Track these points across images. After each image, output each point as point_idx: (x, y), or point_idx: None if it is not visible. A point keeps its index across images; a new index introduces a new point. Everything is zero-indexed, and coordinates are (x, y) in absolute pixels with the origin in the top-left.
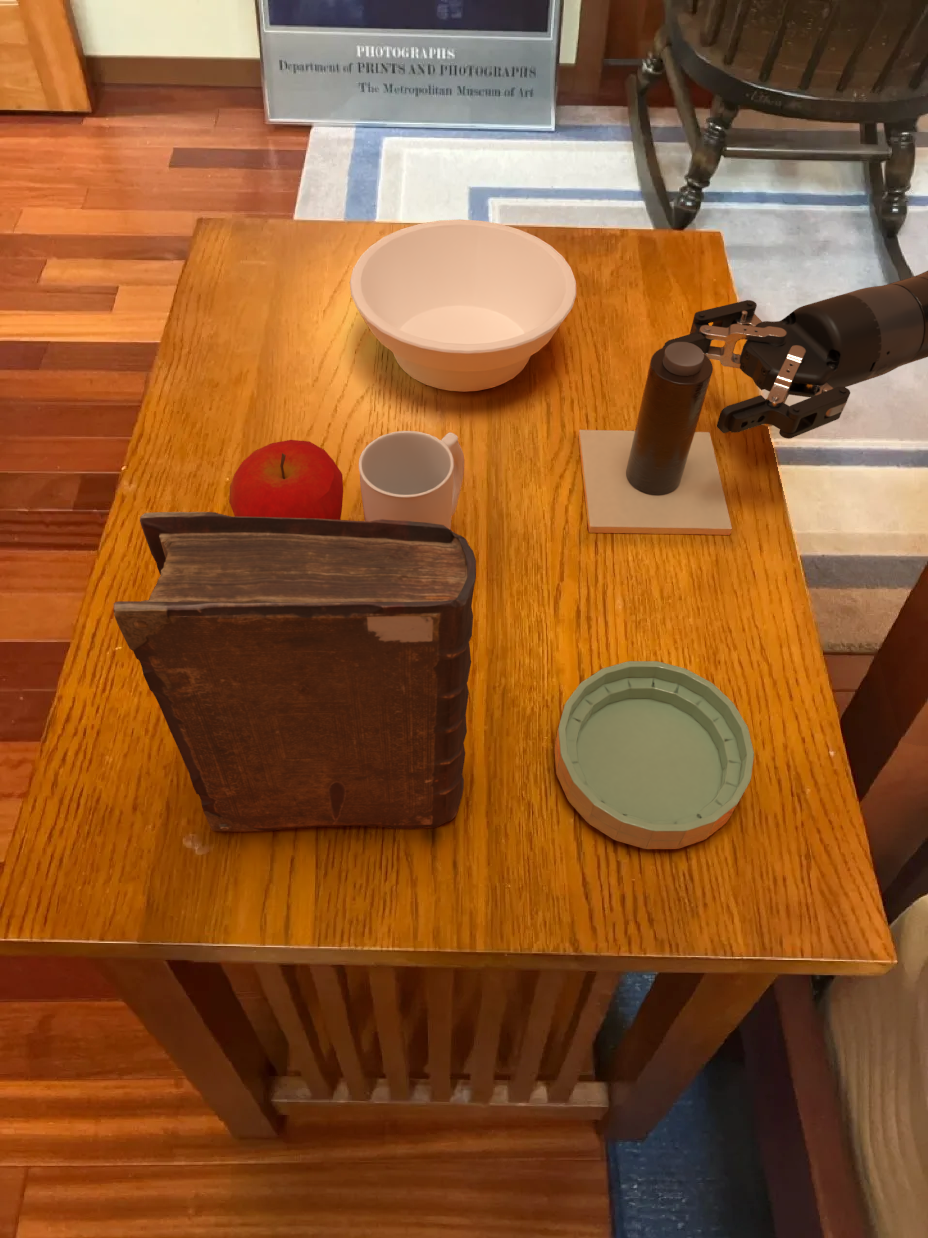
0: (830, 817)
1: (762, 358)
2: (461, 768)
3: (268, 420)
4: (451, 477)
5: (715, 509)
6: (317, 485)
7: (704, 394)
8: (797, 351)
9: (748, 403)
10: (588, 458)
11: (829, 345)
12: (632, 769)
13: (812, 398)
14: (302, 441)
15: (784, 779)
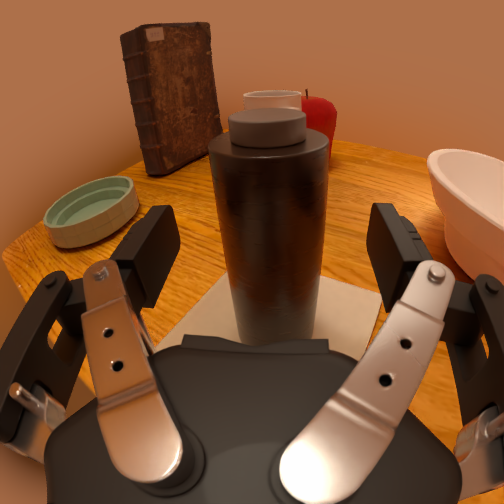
0: (17, 266)
1: (244, 354)
2: (142, 145)
3: (417, 175)
4: (251, 101)
5: None
6: None
7: (215, 190)
8: (138, 434)
9: (139, 230)
10: (334, 284)
11: None
12: (97, 212)
13: (30, 334)
14: (327, 103)
15: (37, 261)
